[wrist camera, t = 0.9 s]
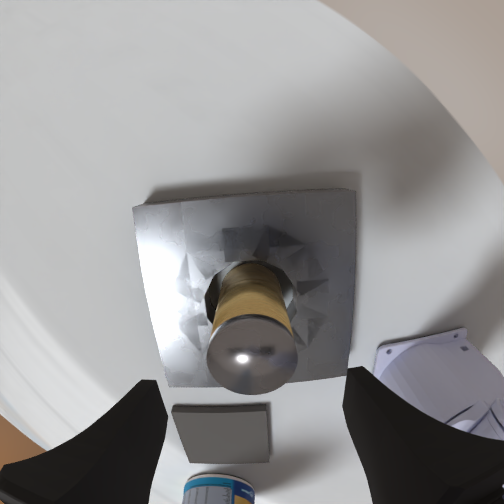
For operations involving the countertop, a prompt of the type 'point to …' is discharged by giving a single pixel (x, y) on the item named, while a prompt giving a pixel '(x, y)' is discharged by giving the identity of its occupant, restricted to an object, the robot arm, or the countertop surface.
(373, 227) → the countertop surface
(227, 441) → the mat
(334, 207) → the housing
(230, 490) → the blue bottle
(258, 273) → the cylindrical knob
